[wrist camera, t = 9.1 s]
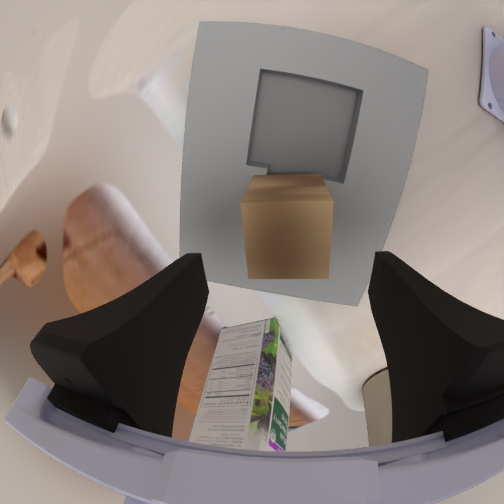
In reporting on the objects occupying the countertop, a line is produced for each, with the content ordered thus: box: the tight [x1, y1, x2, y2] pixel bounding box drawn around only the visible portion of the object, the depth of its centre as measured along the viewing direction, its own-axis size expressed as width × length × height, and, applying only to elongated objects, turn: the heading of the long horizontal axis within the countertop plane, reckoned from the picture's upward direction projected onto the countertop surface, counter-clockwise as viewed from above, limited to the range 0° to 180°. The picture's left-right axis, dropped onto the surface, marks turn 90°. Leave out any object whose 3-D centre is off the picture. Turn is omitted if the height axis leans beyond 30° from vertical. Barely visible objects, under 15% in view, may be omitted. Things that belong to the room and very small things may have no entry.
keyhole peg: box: [241, 174, 334, 279], centre depth 15 cm, size 4×4×6 cm
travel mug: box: [362, 369, 392, 447], centre depth 20 cm, size 8×8×18 cm
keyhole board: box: [180, 22, 428, 306], centre depth 17 cm, size 14×18×2 cm
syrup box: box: [189, 318, 292, 452], centre depth 20 cm, size 6×6×14 cm
